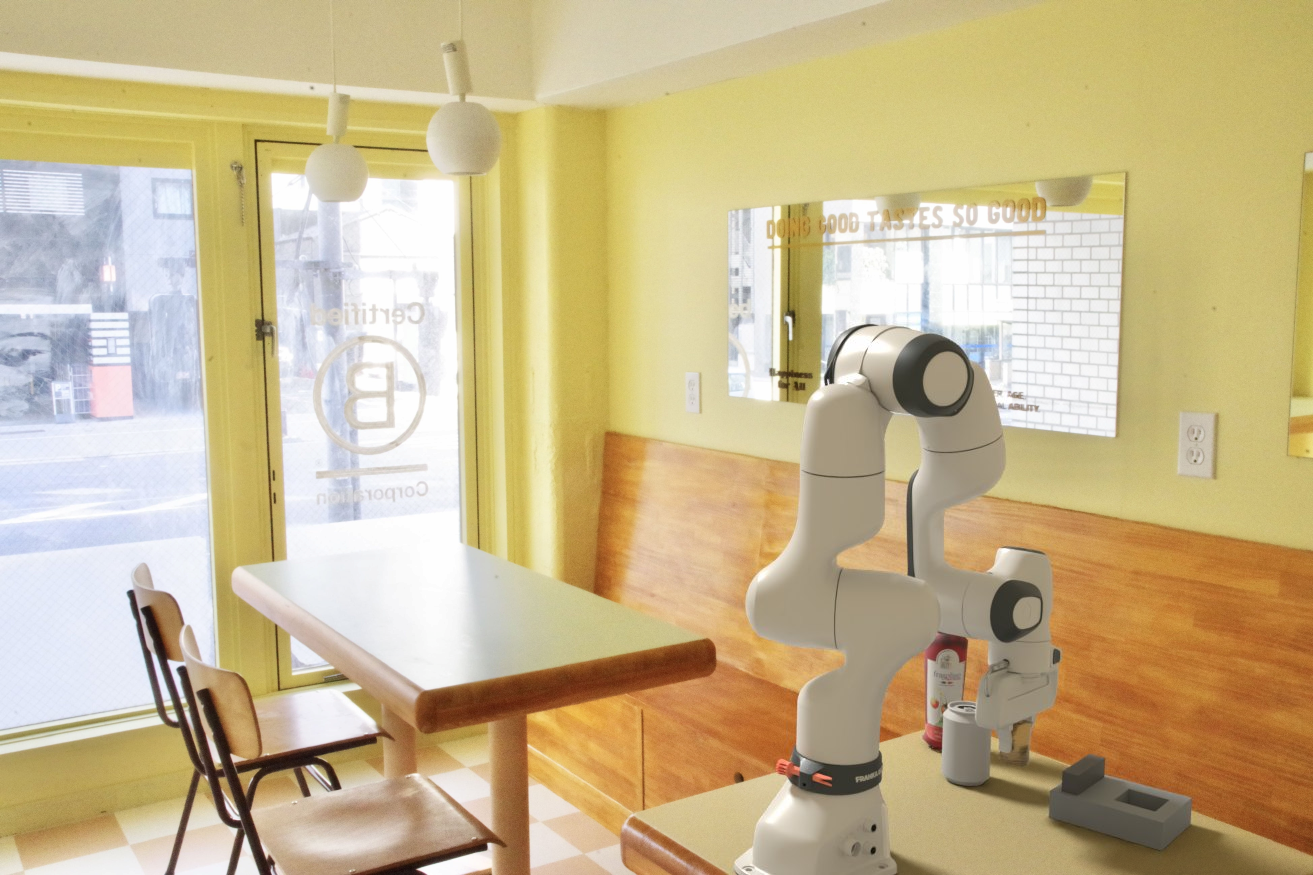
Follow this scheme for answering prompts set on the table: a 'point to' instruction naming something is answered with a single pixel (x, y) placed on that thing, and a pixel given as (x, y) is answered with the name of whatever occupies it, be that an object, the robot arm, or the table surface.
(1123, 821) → the frame
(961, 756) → the can
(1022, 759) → the gold cylinder puck
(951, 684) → the liquor
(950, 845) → the table surface
